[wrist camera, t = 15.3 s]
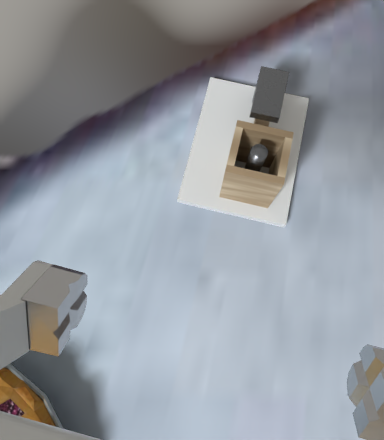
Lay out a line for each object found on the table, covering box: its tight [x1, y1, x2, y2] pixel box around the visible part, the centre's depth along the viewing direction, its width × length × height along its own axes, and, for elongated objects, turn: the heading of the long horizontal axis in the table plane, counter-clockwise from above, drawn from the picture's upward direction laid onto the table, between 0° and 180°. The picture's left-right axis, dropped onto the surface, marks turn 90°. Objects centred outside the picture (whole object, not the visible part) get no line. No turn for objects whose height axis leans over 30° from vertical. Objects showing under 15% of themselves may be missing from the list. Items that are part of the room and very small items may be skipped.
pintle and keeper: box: [245, 66, 289, 172], centre depth 38 cm, size 12×3×8 cm, turn 166°
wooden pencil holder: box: [219, 119, 294, 208], centre depth 37 cm, size 10×5×7 cm, turn 166°
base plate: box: [177, 77, 309, 227], centre depth 42 cm, size 16×12×1 cm
